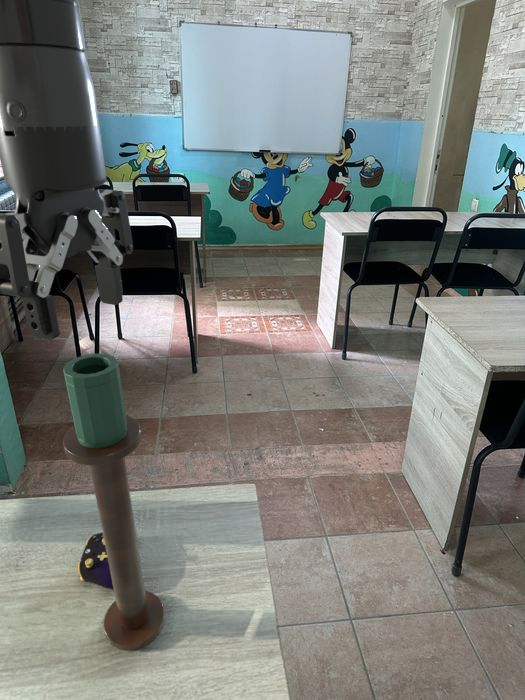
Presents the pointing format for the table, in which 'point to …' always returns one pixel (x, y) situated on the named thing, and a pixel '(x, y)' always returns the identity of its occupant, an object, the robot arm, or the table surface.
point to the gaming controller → (95, 563)
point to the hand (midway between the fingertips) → (82, 318)
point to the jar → (96, 400)
